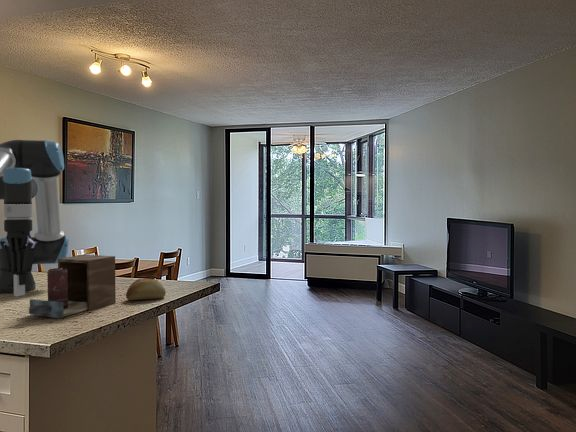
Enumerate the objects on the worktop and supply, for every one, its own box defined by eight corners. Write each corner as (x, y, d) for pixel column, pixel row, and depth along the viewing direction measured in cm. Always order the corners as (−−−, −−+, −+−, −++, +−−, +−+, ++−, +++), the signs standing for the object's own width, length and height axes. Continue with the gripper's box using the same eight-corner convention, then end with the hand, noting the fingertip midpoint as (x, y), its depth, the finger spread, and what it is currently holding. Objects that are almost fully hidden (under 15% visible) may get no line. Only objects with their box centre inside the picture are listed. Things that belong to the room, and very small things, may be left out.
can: (71, 307, 164) (70, 267, 163) (63, 312, 158) (63, 270, 157) (52, 307, 164) (52, 267, 163) (45, 312, 157) (44, 270, 157)
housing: (58, 307, 169) (57, 258, 168) (85, 300, 181) (85, 254, 180) (89, 310, 164) (89, 260, 163) (115, 303, 176) (115, 256, 175)
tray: (19, 317, 154) (19, 302, 153) (60, 306, 169) (60, 292, 169) (51, 321, 149) (51, 305, 149) (91, 309, 165) (90, 295, 165)
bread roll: (123, 299, 184) (123, 278, 184) (161, 295, 191) (161, 275, 191) (128, 304, 176) (128, 282, 175) (168, 299, 183) (168, 279, 183)
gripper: (-9, 218, 144) (-8, 296, 144) (23, 219, 139) (24, 299, 140) (13, 218, 151) (14, 291, 151) (44, 218, 146) (45, 294, 147)
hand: (19, 295), depth 146 cm, fingers closed
